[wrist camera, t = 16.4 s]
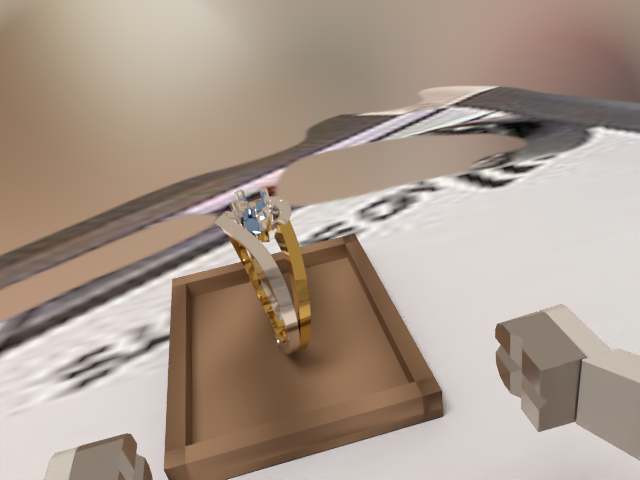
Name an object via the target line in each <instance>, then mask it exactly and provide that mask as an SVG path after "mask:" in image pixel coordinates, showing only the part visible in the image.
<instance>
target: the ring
mask: <svg viewBox="0 0 640 480" xmlns="http://www.w3.org/2000/svg"><path fill="white" fill-rule="evenodd" d="M260 194H261V198H260V199H257V200H254V201H251V202H247V199H246V197H245V194H244V191H243V190H239V191H237V192H235V195H236V198H237V200H235V201H231V202H229V204H230V207H231V209H232V212H229V211H225V212H224V213H223V214H222V215H220V216H219V217H218V218H217V219H215V220H214V222H215V223H216V224H217V225H218V226H219V227H220V228H221V230H222V231H224V232H225V233H226V234H227V235H228V237H229V239H230V241H231V243H232V245H233V247H234V248H235V250H236V252H237V254H238V256H239V258H240V260H241V263H242V265H243V267H244V269H245V271H246V273H247V276H248V278H249V280H250V282H251V284H252V287H253V289H254V291H255V293H256V295H257V298H258V300H259V302H260V304H261V306H262V309H263V311H264V313H265V315H266V317H267V320H268V322H269V324H270V326H271V328H272V330H273V332H274V334H273V335H274V338H275V340H276V342H277V344H278V346H279V345H280V347H281V348H282V350H283V351H284V352H285V353H286V354H287V355H288V354H291V353H294V352H298V351H301V350H303V349H306V348H307V346H308V344H309V340H310V331H311V313H310V299H309V290H308V283H307V277H306V272H305V267H304V263H303V258H302V254H301V251H300V247H299V244H298V241H297V238H296V235H295V232H294V230H293V227H292V225H291V223H290V220H289V219H290V216H291V208H290V205H289V203H288V202H287V201H286V200H285V199H283V198H281V197H276V196H269V195H268V190H267V188H262V189H260ZM272 212H273V213H274V214H276V216H277V218H276V220H275V221H273V215H272ZM273 233H275V239H276V241H277V243H278V245H279V247H280V249H281V251H282V253H283V256H284V258H285V261H286V264H287V268H288V271H289V275H290V280H291V285H292V291H293V298H294V306H293V303H292V300H291V297H290V294H289V291H288V288H287V286H286V283H285V281H284V278H283V276H282V274H281V272H280V270H279V268H278V266H277V264H276V262H275V261H274V259H273V258H272V256H271V254H270V253H269V252H268V250H267V249H266V248H265V246H264V245H263V244H262V243H261V242H260V241H259V240H261V241H262V242H270V239H269V234H273ZM245 248H246V249H247V250H248V252H249V255H248V253H247V251H246V249H245ZM249 256H250V257H249ZM268 280H269V281H268ZM269 282H270V283H269ZM270 284H271V286H272V288H271V286H270ZM272 289H273V291H274V293H275V296H276V298H275V296H274V293H273V291H272ZM276 299H277V300H276ZM277 301H278V302H277ZM278 304H279V305H278ZM294 309H295V310H294Z"/></svg>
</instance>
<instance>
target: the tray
mask: <svg viewBox="0 0 640 480" xmlns="http://www.w3.org/2000/svg"><path fill="white" fill-rule="evenodd" d="M300 251H301V254H302V258H303V263H304V267H305V272H306V277H307V283H308V290H309V299H310V313H311V331H310V340H309V344H308V346H307V348H306V349H303V350H301V351H298V352H294V353H291V354H288V355H287V354H286V353H285V352H284V351H283V350H282V348H281V347H280V345H279V346H278V344H277V342H276V340H275V338H274V335H273V334H274V332H273V330H272V328H271V326H270V324H269V322H268V320H267V317H266V315H265V313H264V311H263V309H262V306H261V304H260V302H259V300H258V298H257V295H256V293H255V291H254V289H253V287H252V284H251V282H250V280H249V278H248V276H247V273H246V271H245V269H244V267H243V265H242V263H241V262H239V263H235V264H231V265H227V266H223V267H219V268H215V269H211V270H207V271H203V272H199V273H195V274H191V275H187V276H183V277H179V278H175V279H172V301H171V323H170V346H169V368H168V390H167V413H166V435H165V457H164V471H165V473H166V475H167V477H168V479H169V480H225V479H228V478H232V477H235V476H239V475H242V474H246V473H249V472H252V471H256V470H259V469H263V468H266V467H270V466H273V465H277V464H280V463H283V462H287V461H290V460H294V459H297V458H301V457H304V456H308V455H311V454H314V453H318V452H321V451H325V450H328V449H332V448H335V447H339V446H342V445H345V444H349V443H352V442H356V441H359V440H363V439H366V438H370V437H373V436H376V435H380V434H383V433H387V432H390V431H394V430H397V429H401V428H404V427H407V426H411V425H414V424H418V423H421V422H425V421H428V420H431V419H435V418H438V417H442V416H443V404H442V390H441V388H440V387H439V385H438V383H437V381H436V379H435V378H434V376H433V374H432V372H431V370H430V369H429V367H428V365H427V363H426V361H425V360H424V358H423V356H422V354H421V352H420V351H419V349H418V347H417V345H416V343H415V342H414V340H413V338H412V336H411V334H410V333H409V331H408V329H407V327H406V325H405V324H404V322H403V320H402V318H401V316H400V315H399V313H398V311H397V309H396V307H395V306H394V304H393V302H392V300H391V298H390V297H389V295H388V293H387V291H386V289H385V288H384V286H383V284H382V282H381V280H380V279H379V277H378V275H377V273H376V271H375V270H374V268H373V266H372V264H371V262H370V261H369V259H368V257H367V255H366V253H365V252H364V250H363V248H362V246H361V244H360V243H359V241H358V239H357V237H356V235H355V234H351V235H347V236H343V237H339V238H335V239H331V240H327V241H323V242H319V243H315V244H311V245H307V246H303V247H300ZM271 256H272V258H273V259H274V261H275V262H276V264H277V266H278V268H279V270H280V272H281V274H282V276H283V278H284V281H285V283H286V286H287V288H288V291H289V294H290V297H291V300H292V303H293V306H294V298H293V291H292V285H291V280H290V275H289V271H288V268H287V264H286V261H285V258H284V256H283V253H282V252H279V253H275V254H271ZM268 281H269V280H268ZM269 283H270V282H269ZM270 286H271V284H270ZM271 288H272V286H271ZM272 291H273V289H272ZM273 293H274V291H273ZM274 296H275V293H274ZM275 298H276V296H275ZM276 300H277V299H276ZM277 302H278V301H277ZM278 305H279V304H278ZM294 310H295V309H294Z"/></svg>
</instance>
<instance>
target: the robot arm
mask: <svg viewBox="0 0 640 480" xmlns="http://www.w3.org/2000/svg"><path fill="white" fill-rule="evenodd" d="M495 338H496V339H497V340H498V342H499V343H500V344H501V345H500V347H499V348H498V350H497V351H496V364H497V367H498V371H499V374H500V377H501V379H502V381H503V383H504V385H505V386H506V388H507V389H508V390H509V392H510V393H511V394H513V395H515V396H517V397H520V398H521V409H522V410H523V412H524V413H525V415H526V416H527V417H528V419H529V420H530V422H531V423H532V424H533V426H534V427H535V428H536V430H537V431H538V432H541V431H544V430H548V429H551V428H555V427H559V426H562V425H566V424H569V423H573V422H576V424H578V425H579V426H581V427H583V428H584V429H586V430H588V431H590V432H591V433H593V434H595V435H597V436H598V437H600V438H602V439H603V440H605V441H607V442H609V443H610V444H612V445H614V446H616V447H617V448H619V449H621V450H623V451H624V452H626V453H628V454H629V455H631V456H633V457H635V458H636V459H638V460H640V356H638V355H635V354H632V353H629V352H627V351H624V350H621V349H616V350H611V349H610V348H609V347H608V346H607V345H606V344H605V343H604V342H603V341H602V340H601V339H600V338H599V337H598V336H597V335H595V334H594V333H593V332H592V331H591V330H590V329H589V328H588V327H587V326H586V325H585V324H584V323H583V322H582V321H581V320H580V319H579V318H578V317H577V316H576V315H575V314H574V313H573V312H571V311H570V310H569V309H568V308H567V307H566V306H564V305H561V304H560V305H557V306H554V307H551V308H547V309H544V310H541V311H539V312H534V313H531V314H528V315H524V316H521V317H518V318H515V319H511V320H508V321H505V322H502V323H498V324H497V326H496V329H495ZM136 450H137V443H136V442H135V440H134V438H133V437H132V435H131V434H123V435H119V436H115V437H112V438H108V439H104V440H100V441H97V442H93V443H89V444H86V445H82V446H79V447H76V448H73V449H69V450H65V451H61V452H58V453H55V454H54V455H53V457H52V458H51V459H50V461H49V465H48V468H47V472H46V476H45V479H44V480H153V479H152V474H151V471H150V468H149V465H148V463H147V461H146V459H145V458H144V457H142V456H139V455H137V454H136Z"/></svg>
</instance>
